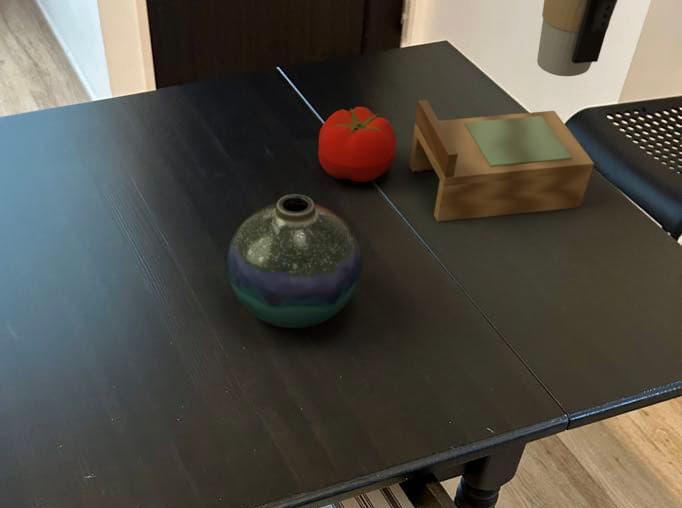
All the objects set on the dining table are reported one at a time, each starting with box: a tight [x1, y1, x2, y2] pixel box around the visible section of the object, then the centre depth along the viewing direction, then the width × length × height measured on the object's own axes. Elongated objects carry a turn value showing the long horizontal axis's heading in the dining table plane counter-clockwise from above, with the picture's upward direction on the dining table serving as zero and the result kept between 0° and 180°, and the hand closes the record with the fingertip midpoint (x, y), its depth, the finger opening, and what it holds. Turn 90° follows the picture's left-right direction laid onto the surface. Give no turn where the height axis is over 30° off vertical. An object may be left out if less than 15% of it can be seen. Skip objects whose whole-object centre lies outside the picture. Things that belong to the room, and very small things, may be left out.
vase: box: [226, 193, 363, 329], centre depth 93 cm, size 15×15×13 cm
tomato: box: [318, 106, 397, 183], centre depth 113 cm, size 11×11×8 cm
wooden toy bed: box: [408, 99, 595, 223], centre depth 110 cm, size 20×14×9 cm
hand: (568, 43), depth 93 cm, fingers closed on coffee cup, 8 cm apart
